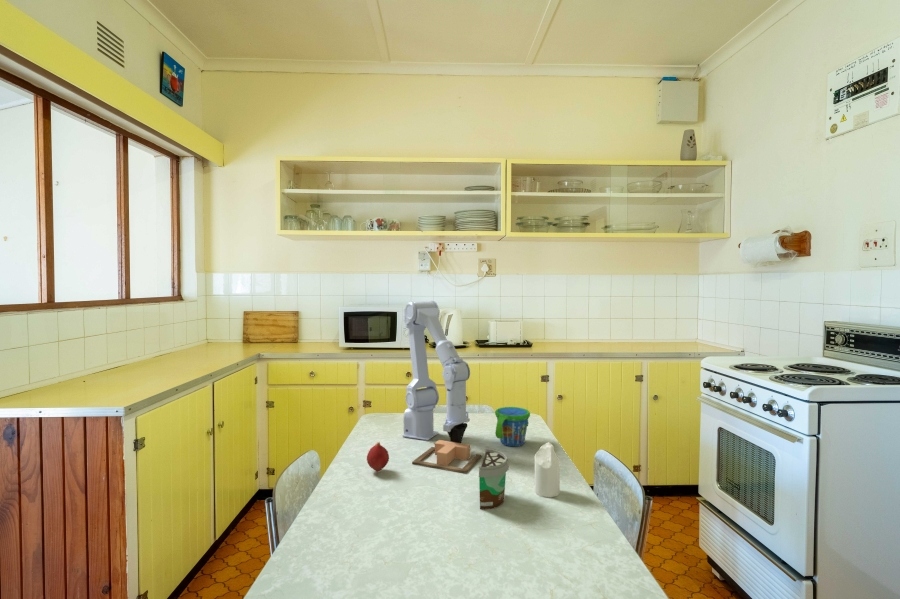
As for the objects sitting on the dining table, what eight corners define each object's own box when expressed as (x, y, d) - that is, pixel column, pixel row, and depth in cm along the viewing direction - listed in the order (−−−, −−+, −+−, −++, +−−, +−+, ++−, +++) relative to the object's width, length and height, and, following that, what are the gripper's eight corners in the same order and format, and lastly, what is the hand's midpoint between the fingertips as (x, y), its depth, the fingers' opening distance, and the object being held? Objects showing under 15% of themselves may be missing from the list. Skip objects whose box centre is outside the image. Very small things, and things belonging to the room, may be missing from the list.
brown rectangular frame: (412, 463, 129) (412, 461, 129) (431, 448, 141) (431, 446, 141) (465, 473, 123) (465, 471, 123) (481, 456, 134) (481, 454, 134)
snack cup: (514, 433, 155) (514, 402, 154) (541, 441, 147) (541, 409, 147) (483, 444, 144) (483, 412, 144) (509, 454, 136) (509, 419, 136)
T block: (439, 451, 139) (439, 439, 138) (470, 456, 135) (470, 444, 134) (425, 462, 130) (425, 450, 130) (458, 468, 126) (458, 455, 126)
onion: (362, 473, 123) (362, 443, 123) (375, 465, 128) (375, 437, 128) (380, 477, 121) (380, 447, 120) (393, 469, 126) (392, 440, 125)
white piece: (533, 446, 110) (535, 438, 115) (533, 495, 110) (535, 485, 116) (559, 448, 108) (560, 440, 114) (559, 498, 109) (560, 488, 114)
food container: (506, 515, 101) (506, 470, 101) (478, 512, 103) (478, 467, 102) (510, 489, 113) (511, 449, 113) (485, 487, 115) (485, 447, 114)
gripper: (459, 411, 129) (459, 459, 129) (477, 398, 142) (477, 442, 143) (436, 408, 132) (436, 455, 132) (456, 396, 145) (456, 439, 146)
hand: (456, 448), depth 138 cm, fingers closed
